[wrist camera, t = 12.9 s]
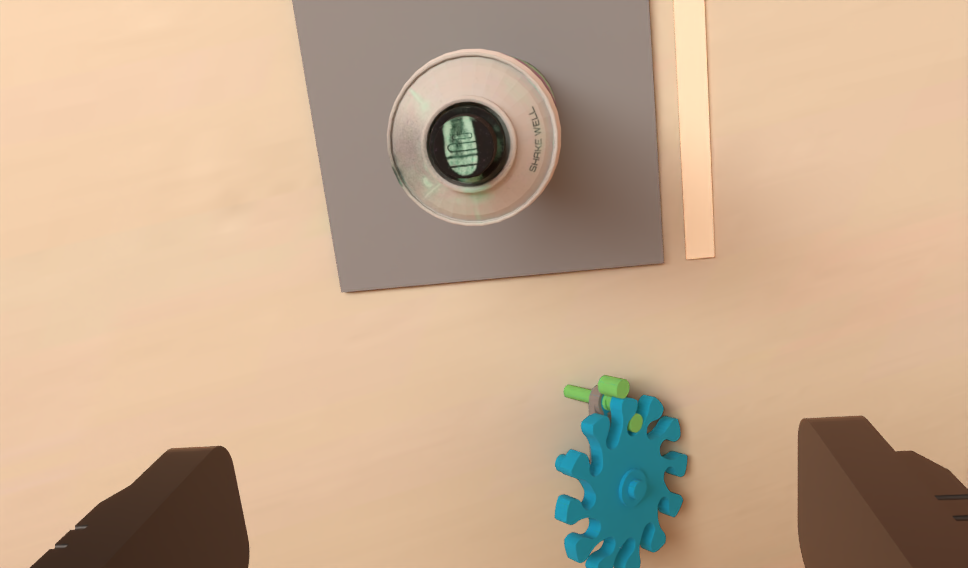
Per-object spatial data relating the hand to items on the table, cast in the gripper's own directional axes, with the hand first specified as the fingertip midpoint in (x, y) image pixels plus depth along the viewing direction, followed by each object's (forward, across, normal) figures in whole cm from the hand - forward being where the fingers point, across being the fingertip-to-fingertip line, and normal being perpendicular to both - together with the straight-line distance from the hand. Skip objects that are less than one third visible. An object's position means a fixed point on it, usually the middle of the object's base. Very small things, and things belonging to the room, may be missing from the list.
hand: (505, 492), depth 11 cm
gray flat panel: (+32, +2, -4) cm, 33 cm away
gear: (+33, -3, +16) cm, 36 cm away
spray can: (+32, +2, -4) cm, 32 cm away
